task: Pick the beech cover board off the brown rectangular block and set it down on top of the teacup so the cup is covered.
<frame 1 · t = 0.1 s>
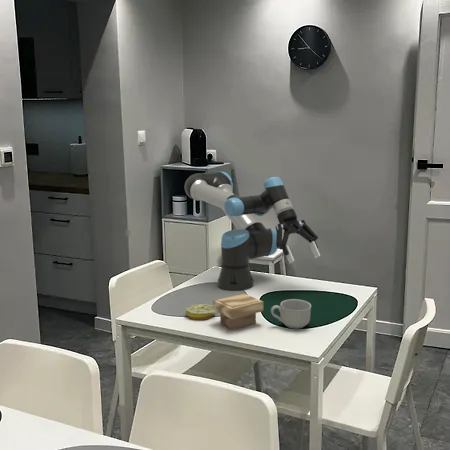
hand: (305, 259, 241), 15 cm above the table, tool tilted 35°, fingers open, 13 cm apart
cover board: (238, 310, 214), point 5 cm above the table, touching brown rectangular block
brown rectangular block: (238, 324, 215), on the table
teacup: (290, 326, 213), on the table
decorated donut: (201, 316, 224), on the table
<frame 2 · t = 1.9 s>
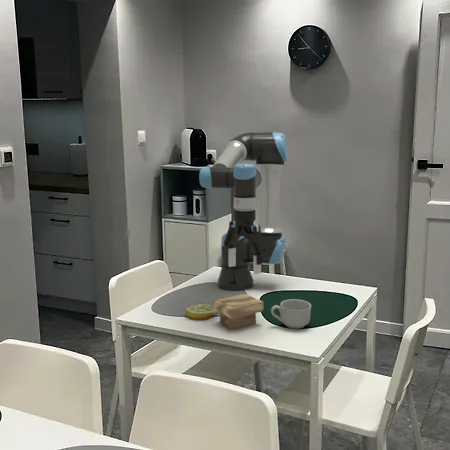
hand: (244, 269, 212), 20 cm above the table, tool pointing down, fingers open, 13 cm apart
nothing on the table moved.
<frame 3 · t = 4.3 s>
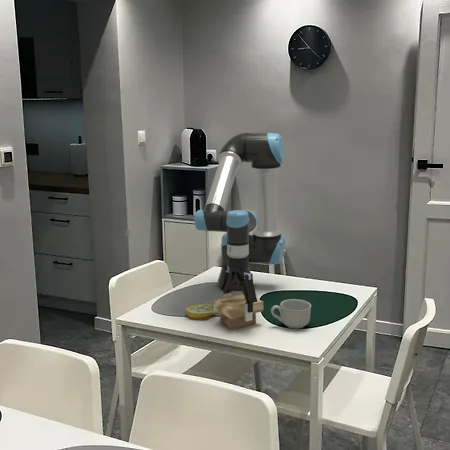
hand: (238, 315, 214), 3 cm above the table, tool pointing down, fingers closed on cover board, 11 cm apart
cover board: (238, 310, 214), point 5 cm above the table, touching gripper, brown rectangular block
everything else where it was.
when the fingers open (9 cm above the table, at t = 10.0 s): cover board drops 3 cm, resting on teacup.
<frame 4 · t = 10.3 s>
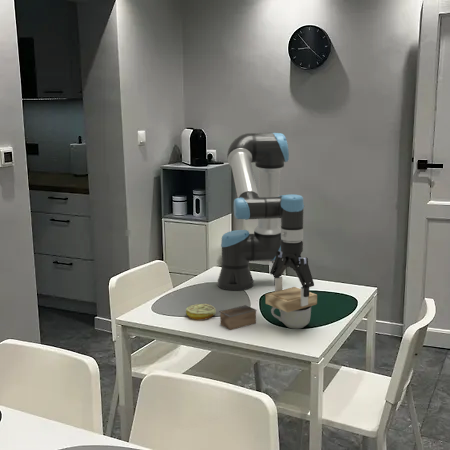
hand: (291, 300, 211), 9 cm above the table, tool pointing down, fingers open, 13 cm apart
cover board: (291, 303, 211), point 8 cm above the table, touching teacup
teacup: (290, 326, 213), on the table, touching cover board
everything else where it was.
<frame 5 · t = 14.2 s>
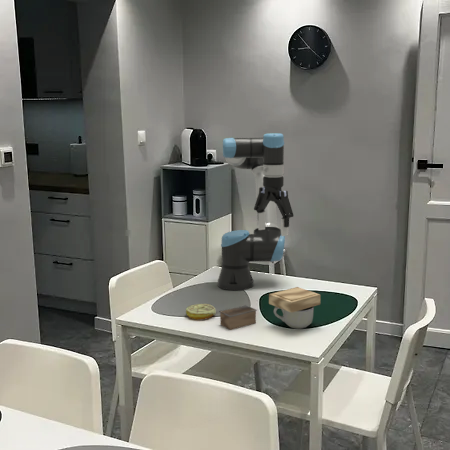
hand: (272, 232, 228), 29 cm above the table, tool pointing down, fingers open, 13 cm apart
cover board: (294, 304, 211), point 8 cm above the table, touching teacup
everything else where it was.
at the end: cover board inside the target area on the teacup (0.3 cm from its centre), point 8.2 cm above the teacup's base; cover board tilted 0°; the gripper is holding nothing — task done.
